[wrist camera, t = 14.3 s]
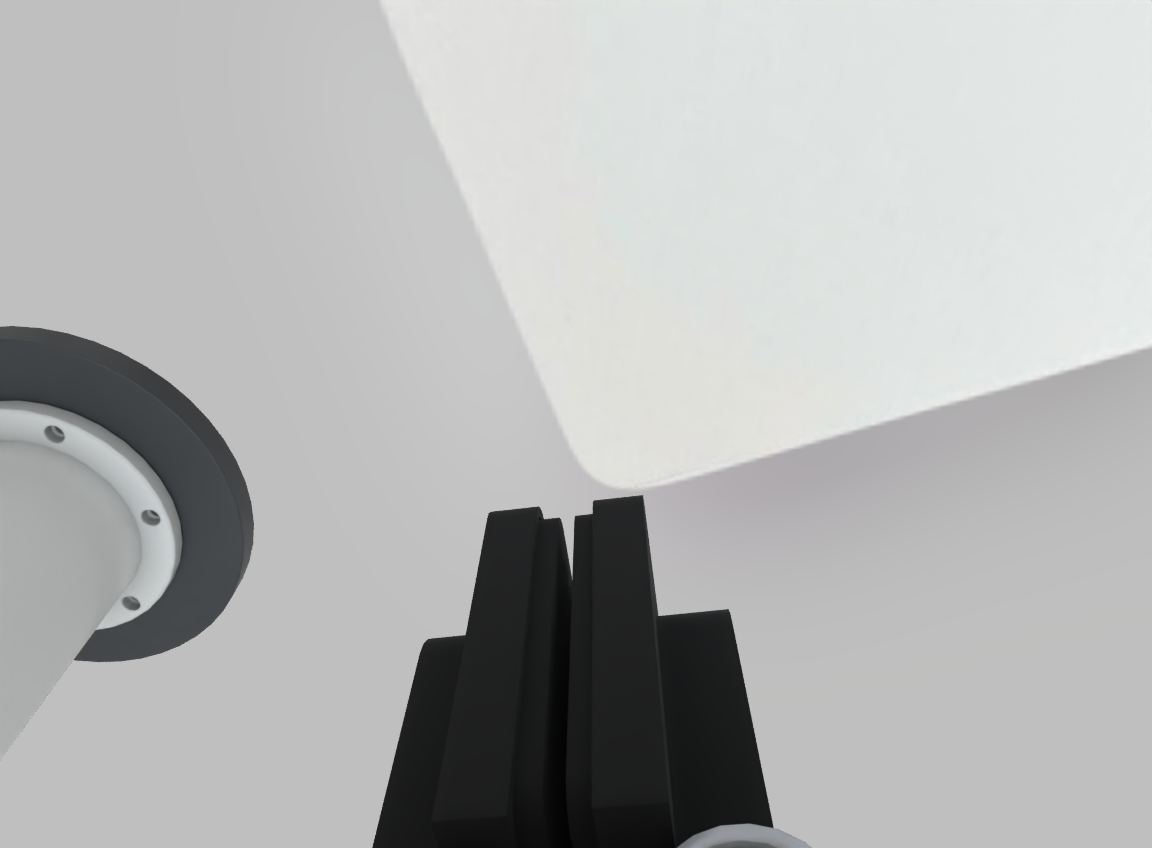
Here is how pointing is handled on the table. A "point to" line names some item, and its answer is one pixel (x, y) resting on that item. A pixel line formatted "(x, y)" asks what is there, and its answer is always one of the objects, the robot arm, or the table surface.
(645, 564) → the robot arm
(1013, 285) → the table surface
